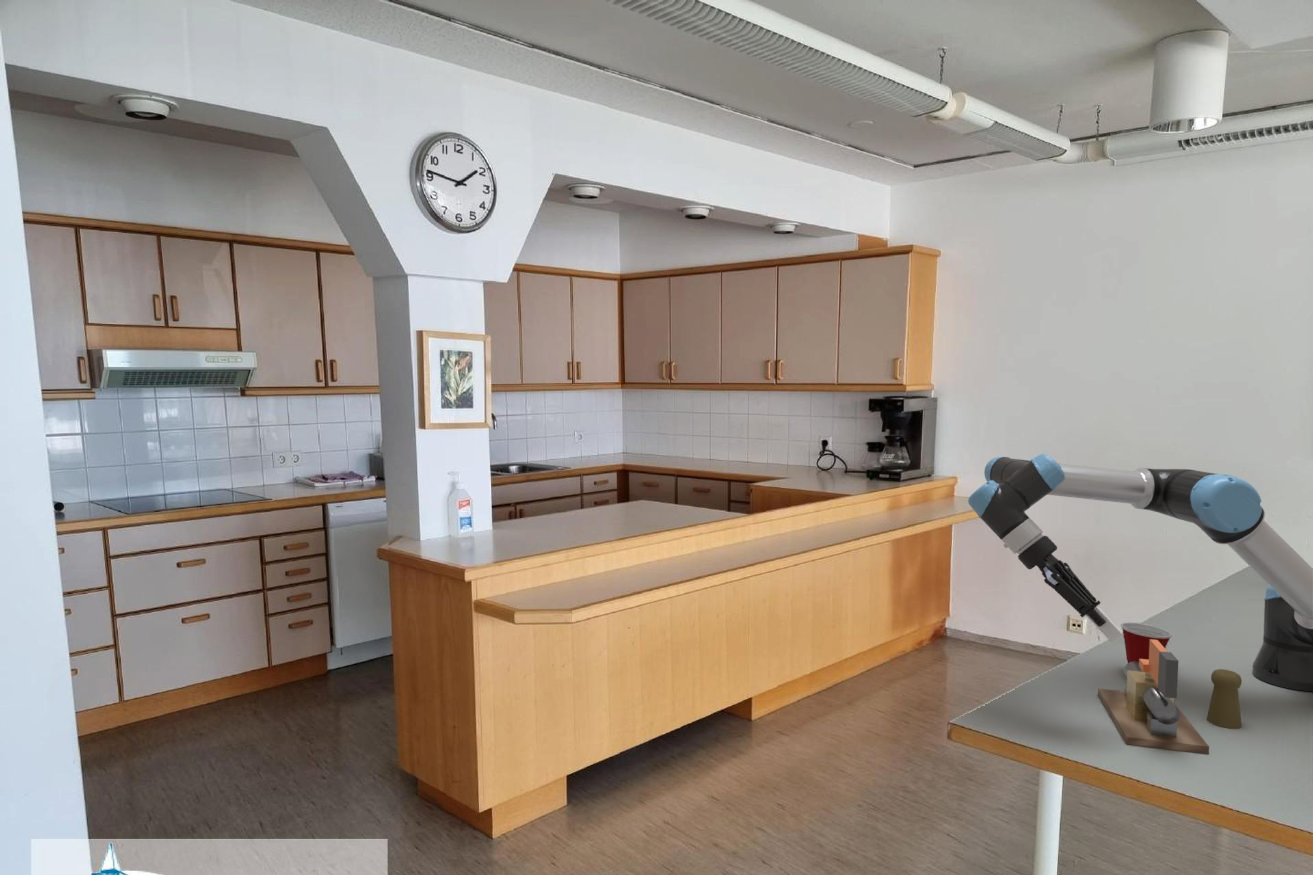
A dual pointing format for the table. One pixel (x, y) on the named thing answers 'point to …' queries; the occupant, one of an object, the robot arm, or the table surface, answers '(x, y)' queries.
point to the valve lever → (1161, 668)
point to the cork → (1225, 699)
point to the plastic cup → (1142, 639)
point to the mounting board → (1137, 729)
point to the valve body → (1149, 702)
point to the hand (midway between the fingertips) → (1116, 636)
